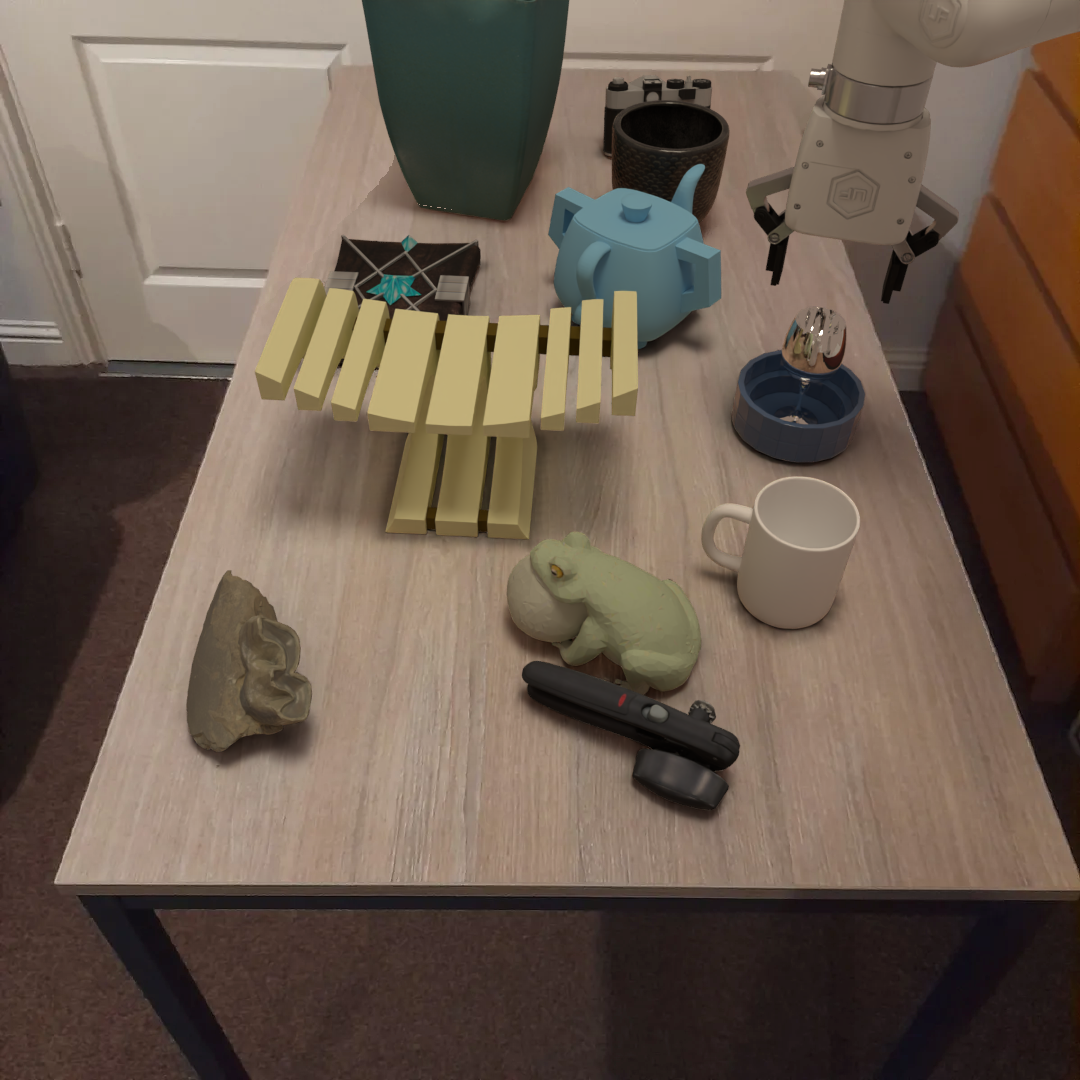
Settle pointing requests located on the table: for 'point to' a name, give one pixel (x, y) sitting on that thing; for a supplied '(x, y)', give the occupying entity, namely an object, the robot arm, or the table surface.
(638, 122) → the planter
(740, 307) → the table surface
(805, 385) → the wineglass
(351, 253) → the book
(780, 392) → the bowl
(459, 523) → the slatted curved stool
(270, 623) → the fossil
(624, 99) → the camera
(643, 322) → the teapot
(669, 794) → the can opener
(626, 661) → the figurine
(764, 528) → the cup
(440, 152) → the flower pot
